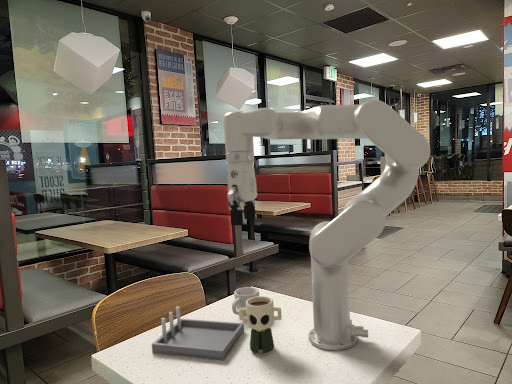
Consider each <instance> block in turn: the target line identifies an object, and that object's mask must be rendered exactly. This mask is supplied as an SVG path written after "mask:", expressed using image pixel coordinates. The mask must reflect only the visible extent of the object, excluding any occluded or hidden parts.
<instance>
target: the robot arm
mask: <svg viewBox="0 0 512 384" xmlns="http://www.w3.org/2000/svg"><path fill="white" fill-rule="evenodd" d="M223 131H224V144H225V146H224V147H225V160H226V161H225V162H226V166H227V191H228V193H227V200H228V206H229V208H228V209H229V213H230V225H231V226H243V225H244V220H256V218H257V217H256V216H257V215H256V201H255V199H257V197H258V187H257V179H256V178H257V177H256V171H255V165H254V164H255V153H254V152H255V151H254V149H255V148H254V137H256V138H257V137H258V138H262V139H266V140H336V139H337V140H339V139H341V140H343V139H345V140H347V139H351V140H353V139H355V140H356V139H357V140H360V139H361V140H362V139H363V140H365V139H369V140H370V142H372V144H373V145H375V147H377V148H378V149H379V150H380V151H381V152H382V153H384V159H385V168H384V170H383V172H382V173H381V174H380V175H379V176H378V177H377V178H376V179H375V180H374V181H372V182H371V184H369V185H368V186H367V187H365V188H364V189H363V190H362V191H360V192H359V193H358V194H357V195H355V196H354V197H352V198H351V199H350V200H348V201H347V202H346V203H345V205H344V206H343V209H342V212H341V213H339V214H338V215H337V216H336V217H335V218H333V219H332V220H331V221H330V220H329V221H327V220H326V221H325V220H324V221H321V222H319V223H317V225H315V226H314V227H313V228H312V230H311V233H310V234H309V243H308V244H309V246H308V249H309V254H310V262H311V263H310V265H311V266H310V267H311V271H310V272H311V289H312V290H311V291H312V309H313V310H312V311H313V313H312V314H313V328H312V329H311V330H310V331H309V333H308V340H309V341H308V342H310V344H312V345H313V346H314V347H316V348H320V349H323V350H326V351H327V350H328V351H340V350H342V351H343V350H347V349H349V348H351V347H353V346H355V344H356V343H357V342H358V340H357V339H358V337H360V338H369V329H364V328H365V327H364V325H355V324H353V320H352V319H351V309H350V291H349V288H350V287H349V282H350V280H349V263H348V262H349V261H348V260H350V259H351V258H352V257H354V256H355V255H356V254H358V253H359V252H360V251H362V250H363V249H364V248H366V247H367V246H368V245H370V244H371V243H372V242H374V240H375V239H377V238H378V237H379V236H380V234H382V232H383V231H384V229H385V226H386V223H387V216H388V215H389V214H390V213H391V212H393V211H394V210H395V209H397V207H398V206H399V205H401V204H402V203H403V202H404V201H406V200H407V198H408V197H409V196H410V195H411V194H412V192H413V191H414V189H415V187H416V185H417V182H418V179H419V175H420V168H423V166H424V165H425V164H426V163H427V162H428V160H429V158H430V155H431V146H430V143H429V142H428V140H427V138H426V137H425V136H424V135H423V134H422V133H421V132H420V131H418V130H417V129H416V128H415V127H414V126H413V125H412V124H411V123H409V122H408V121H407V120H406V119H405V118H403V117H402V116H401V115H400V114H399V113H398V112H397V111H395V109H393V108H392V107H391V106H390V105H389V104H387V103H386V102H385V101H382V100H379V99H370V100H367V101H365V102H363V103H361V104H337V105H336V104H335V105H334V104H328V105H326V104H325V105H324V104H323V105H316V106H315V107H312V108H309V109H307V110H302V111H291V112H288V111H287V112H276V111H275V110H274V109H272V108H269V107H260V108H259V107H258V108H257V109H256V108H255V109H251V110H247V111H242V110H241V111H239V110H238V111H237V110H236V111H230V112H227V113H225V114H224V116H223ZM243 203H244V205H243ZM242 205H243V209H242Z"/></svg>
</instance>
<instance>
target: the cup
mask: <svg viewBox="0 0 512 384" xmlns="http://www.w3.org/2000/svg"><path fill="white" fill-rule="evenodd" d="M233 293H234V294H233V295H234V300H233V302H232V304H231V309H232V314H234V315H238V316H239V308H246V301H247V300H248V299H250V298H252V297H258V296H260V290H259V288H257V287H253V286H246V287H245V286H244V287H239V288H236V289H235V291H233ZM243 317H247V314H246V311H243Z"/></svg>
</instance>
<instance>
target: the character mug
mask: <svg viewBox="0 0 512 384" xmlns="http://www.w3.org/2000/svg"><path fill="white" fill-rule="evenodd" d="M243 311H246V314H247V317H243ZM275 312H277V316H275ZM238 317H239V320H241V321H246V325H247V326H248V327H249V329H251V330H250V339H249V349H250V351H251V353H253V354H257V355H260V351H262V355H266V354H269V353H271V352H272V351H273V350H274V348H275V343H274V337H273V333H272V328H271V327H273V326H274V323H275V321H280V320H282V308H281V307H279V306H277V307H274V300H273V298H271V297H269V296H264V295H263V296H262V295H259V296H258V297H252V298H250V299H248V300H247V301H246V308H239V315H238Z"/></svg>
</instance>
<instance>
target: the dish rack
mask: <svg viewBox="0 0 512 384" xmlns="http://www.w3.org/2000/svg"><path fill="white" fill-rule="evenodd" d="M175 311H176V312H175V313H176V322H175V323H174V313H173V311H169V312H168V318H169V328H168V330H167V324H166V323H167V322H166V317H161V329H162V330H161V332H162V335H160V336H158V338H157V339H156V340H154V341H153V342H152V343H151V352H152V354H156V355H166V356H172V357H173V356H174V357H184V358H192V359H203V360H211V361H220V362H223V361H225V359H226V358H227V356H228V355H229V354H230V352H231V351H232V350H233V348H234V347H235V345H237V343H238V341H239V339H241V337H242V336H243V334H244V332H245V325H244V323H242V322H229V321H219V320H218V321H214V320H204V319H203V320H202V319H190V318H181V307H180V306H179V305H178V306H176V307H175Z"/></svg>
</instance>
